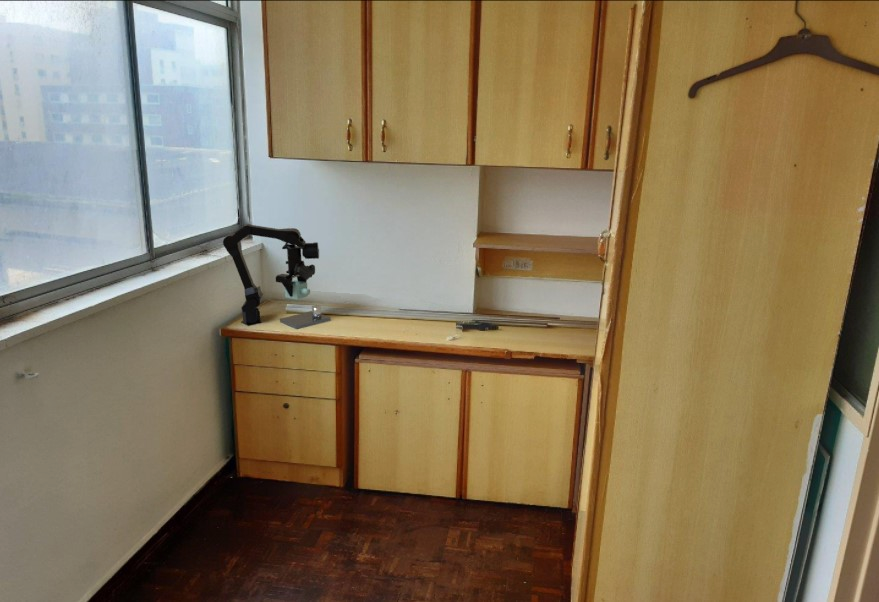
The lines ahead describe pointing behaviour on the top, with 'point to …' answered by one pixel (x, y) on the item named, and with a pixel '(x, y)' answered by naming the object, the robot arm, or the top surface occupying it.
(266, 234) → the robot arm
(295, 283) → the duct collar
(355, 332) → the top surface
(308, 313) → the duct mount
